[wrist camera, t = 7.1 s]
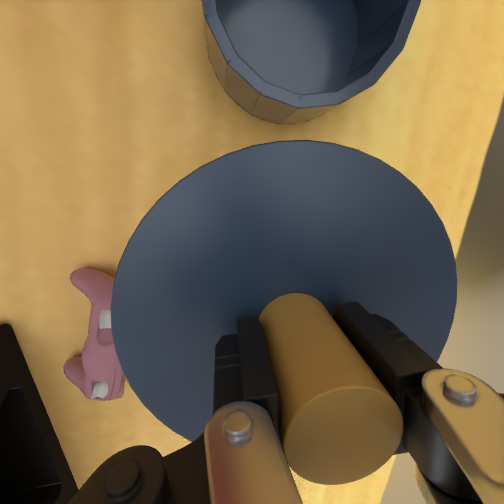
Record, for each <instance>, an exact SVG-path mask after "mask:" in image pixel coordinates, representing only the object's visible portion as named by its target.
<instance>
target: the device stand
mask: <svg viewBox="0 0 504 504" xmlns="http://www.w3.org/2000/svg"><path fill="white" fill-rule="evenodd" d="M77 492H78V488H77V486H76V483H75V481H74V478H73V476H72V474H71V471H70V469H69V466H68V464H67V461H66V459H65V456H64V454H63V452H62V449H61V447H60V444H59V442H58V439H57V437H56V435H55V432H54V430H53V427H52V425H51V422H50V420H49V417H48V415H47V413H46V410H45V408H44V405H43V403H42V400H41V398H40V396H39V393H38V391H37V388H36V386H35V383H34V381H33V379H32V376H31V374H30V371H29V369H28V366H27V364H26V361H25V359H24V357H23V354H22V352H21V349H20V347H19V344H18V342H17V340H16V337H15V335H14V332H13V330H12V328H11V326H9V325H8V324H1V325H0V504H68V503H69V501H70V500H71V499H72V498H73V497H74V495H75V494H76V493H77Z"/></svg>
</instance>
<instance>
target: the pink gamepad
mask: <svg viewBox="0 0 504 504" xmlns="http://www.w3.org/2000/svg"><path fill="white" fill-rule="evenodd" d="M70 280H71V282H72V284H73V285H74V286H75V287H76V288H78V289H79V290H80V291H81V292H83V293H84V294H85V295H86V296H87V297H88V298H89V300H90V301H91V304H92V308H91V315H90V321H89V333H88V337H87V340H86V342H85V344H84V347H83V350H82V356H78V357H77V356H75V357H73V358H71V359H69V360H68V361H66V363H65V364H64V373H65V375H66V377H67V378H68V379H69V380H70V381H71V382H72V383H74V384H75V385H76V386H77V387H78V388H79V389H80V390H81V391H82V392H83V394H84V395H85V397H86V398H88V399H92V400H100V401H106V400H112V399H117V398H121V397H122V395H123V392H124V383H125V380H126V377H125V375H124V373H123V371H122V368H121V366H120V363H119V360H118V357H117V355H116V352H115V347H114V342H113V336H112V331H111V311H110V307H111V298H112V289H113V283H114V280H115V278H113V277H112V276H110V275H108V274H106V273H104V272H102V271H100V270H96V269H92V268H81V269H78V270H75V271H73V272H72V273H71V275H70Z"/></svg>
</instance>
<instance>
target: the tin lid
mask: <svg viewBox="0 0 504 504" xmlns="http://www.w3.org/2000/svg"><path fill="white" fill-rule="evenodd" d="M456 300H457V273H456V263H455V258H454V254H453V250H452V246H451V242H450V239H449V237H448V235H447V232H446V230H445V227H444V225H443V222H442V221H441V219H440V217H439V216H438V214H437V212H436V211H435V209H434V208H433V206H432V204H431V203H430V202H429V201H428V199H427V198H426V197H425V196H424V195H423V193H422V192H421V191H420V190H419V189H418V188H417V186H415V185H414V184H413V183H412V182H411V181H410V180H408V179H407V178H406V177H405V176H404V175H403V174H402V173H400V172H399V171H398V170H396V169H394V168H393V167H391V166H390V165H388V164H386V163H385V162H383V161H382V160H380V159H378V158H376V157H373V156H371V155H369V154H366V153H364V152H362V151H360V150H357V149H354V148H350V147H346V146H342V145H339V144H335V143H329V142H320V141H311V140H289V141H276V142H270V143H264V144H258V145H253V146H250V147H247V148H243V149H240V150H237V151H234V152H231V153H228V154H225V155H223V156H221V157H219V158H217V159H215V160H213V161H211V162H209V163H207V164H205V165H203V166H201V167H199V168H198V169H196V170H195V171H193V172H192V173H190V174H189V175H187V176H186V177H184V178H183V179H181V180H180V181H179V182H178V183H176V184H175V185H174V186H173V187H172V188H171V189H170V190H169V191H167V192H166V193H165V194H164V195H163V196H162V197H161V198H160V199H159V200H158V201H157V202H156V203H155V204H154V206H153V207H152V208H151V209H150V210H149V211H148V213H147V214H146V215H145V216H144V217H143V219H142V220H141V222H140V223H139V225H138V226H137V228H136V230H135V231H134V233H133V234H132V236H131V238H130V239H129V241H128V243H127V246H126V248H125V250H124V253H123V255H122V257H121V259H120V262H119V265H118V269H117V272H116V276H115V280H114V283H113V289H112V298H111V307H110V311H111V331H112V336H113V342H114V347H115V352H116V355H117V357H118V360H119V363H120V366H121V368H122V371H123V373H124V375H125V377H126V379H127V381H128V382H129V384H130V386H131V388H132V390H133V391H134V392H135V394H136V395H137V396H138V398H139V399H140V400H141V402H142V403H143V404H144V406H145V407H146V408H147V409H148V410H149V411H150V412H151V413H152V414H153V415H154V416H155V417H156V418H157V419H158V420H160V421H161V422H162V423H163V424H165V425H166V426H167V427H169V428H170V429H171V430H172V431H174V432H176V433H177V434H179V435H181V436H182V437H184V438H186V439H187V440H189V441H191V442H193V441H194V440H196V439H197V438H198V437H199V436H200V435H201V434H202V433H203V432H204V431H205V426H206V424H207V422H208V420H209V418H210V417H211V416H212V414H213V395H214V370H215V368H214V365H215V346H216V344H217V342H218V341H219V339H220V338H221V336H223V335H229V334H236V333H238V330H237V320H236V318H240V317H247V316H254V315H258V317H259V321H260V325H261V329H262V333H263V337H264V341H265V345H266V349H267V353H268V357H269V361H270V365H271V369H272V373H273V377H274V381H275V385H276V389H277V393H278V400H279V411H280V422H281V428H280V440H281V445H282V449H283V452H284V455H285V457H286V460H287V463H288V465H289V466H290V467H291V469H292V470H293V471H294V472H295V473H296V474H298V475H299V476H300V477H302V478H304V479H306V480H308V481H311V482H314V483H318V484H325V485H338V484H345V483H349V482H353V481H356V480H359V479H362V478H364V477H366V476H368V475H370V474H372V473H373V472H375V471H376V470H378V469H379V468H380V467H381V466H383V465H384V464H385V463H386V462H387V461H388V460H389V459H390V458H391V456H392V455H393V454H394V453H395V451H396V449H397V448H398V446H399V443H400V441H401V438H402V435H403V418H402V414H401V411H400V409H399V407H398V405H397V404H396V402H395V401H394V399H393V398H392V397H391V395H390V394H389V393H388V391H387V390H386V389H385V387H384V386H383V385H382V383H381V382H380V381H379V379H378V378H377V377H376V375H375V374H374V373H373V371H372V370H371V369H370V367H369V366H368V365H367V363H366V362H365V361H364V359H363V358H362V356H361V355H360V354H359V352H358V351H357V350H356V348H355V347H354V346H353V344H352V343H351V342H350V340H349V339H348V338H347V336H346V335H345V334H344V332H343V331H342V330H341V328H340V327H339V326H338V324H337V323H336V322H335V320H334V319H333V318H332V309H333V305H334V304H339V303H346V302H353V301H357V302H358V303H360V304H361V305H362V306H363V307H364V308H365V309H366V310H367V311H368V312H369V313H370V314H374V313H376V314H378V315H380V316H382V317H384V318H386V319H388V320H390V321H391V322H392V323H394V324H395V325H396V326H397V327H398V328H399V329H400V330H401V332H404V333H405V334H406V335H407V336H408V337H409V338H410V340H412V341H414V342H415V343H416V344H417V345H418V346H419V347H420V348H421V349H422V350H424V351H425V352H426V353H427V354H428V355H429V356H430V357H431V358H432V359H433V360H435V361H436V362H437V361H438V359H439V357H440V355H441V353H442V350H443V348H444V346H445V343H446V342H447V339H448V336H449V333H450V329H451V326H452V323H453V319H454V313H455V307H456Z"/></svg>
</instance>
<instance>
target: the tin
mask: <svg viewBox="0 0 504 504" xmlns="http://www.w3.org/2000/svg"><path fill="white" fill-rule="evenodd" d="M420 1H421V0H202V7H203V16H204V24H205V32H206V40H207V48H208V56H209V60H210V62H211V64H212V66H213V69H214V71H215V73H216V76H217V78H218V80H219V81H220V83H221V85H222V86H223V88H224V90H225V91H226V93H227V94H228V95H229V96H230V97H231V98H232V99H233V100H234V101H235V102H236V103H237V104H238V105H239V106H240V107H241V108H243V109H244V110H245V111H247V112H248V113H250V114H251V115H253V116H255V117H258V118H260V119H262V120H265V121H269V122H273V123H277V124H290V123H298V122H305V121H309V120H311V119H313V118H315V117H317V116H319V115H321V114H323V113H324V112H326V111H328V110H330V109H332V108H334V107H336V106H337V105H339V104H341V103H343V102H345V101H346V100H348V99H350V98H352V97H353V96H355V95H357V94H359V93H361V92H362V91H364V90H366V89H368V88H369V87H371V86H373V85H374V84H375V83H376V82H377V81H378V80H379V78H380V77H381V76H382V75H383V73H384V72H385V71H386V70H387V69H388V67H389V66H390V65H391V64H392V62H393V61H394V60H395V59H396V57H397V56H398V55H399V54H400V53H401V51H402V50H403V48H404V46H405V43H406V40H407V38H408V35H409V32H410V30H411V27H412V24H413V22H414V19H415V16H416V14H417V11H418V8H419V6H420Z"/></svg>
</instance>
